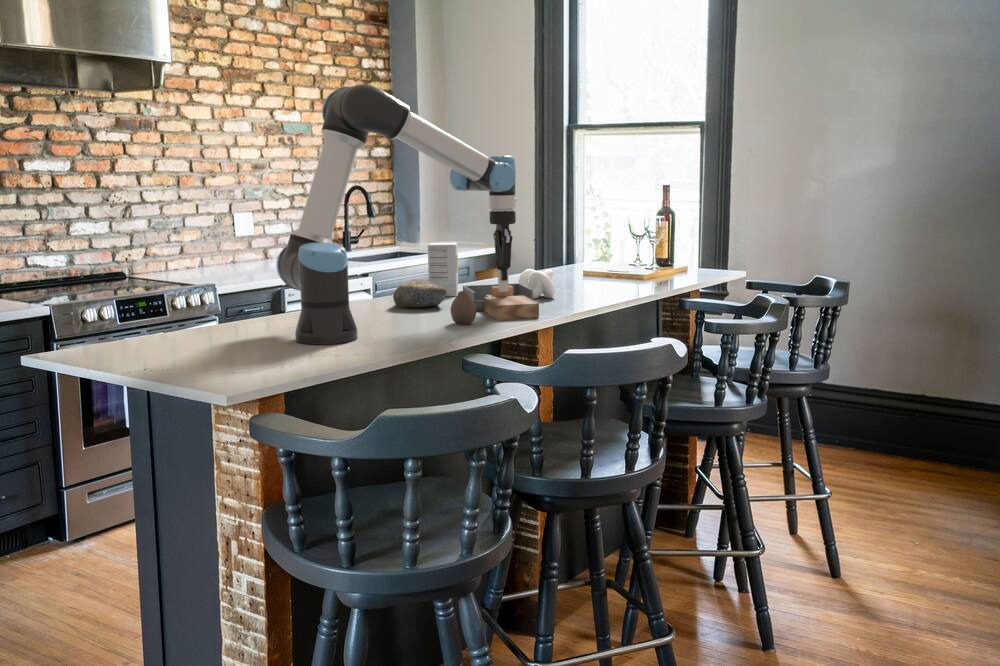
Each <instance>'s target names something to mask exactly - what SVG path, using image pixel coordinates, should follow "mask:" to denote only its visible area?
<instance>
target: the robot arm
mask: <svg viewBox="0 0 1000 666" xmlns="http://www.w3.org/2000/svg"><path fill="white" fill-rule="evenodd" d="M321 115H322V119H323V124H322V126H321V130H320V132H321V134H322V136H323V138H324V142H323V145H322V148H321V152H320V154H319V155H320V156H319V158H318V162H317V166H316V169H315V172H314V176H313V179H312V182H311V185H310V189H309V192H308V195H307V198H306V203H305V206H304V210H303V212H302V215H301V219H300V222H299V226H298V228H297V229H296V230H293V231H292V232H290V235H289V239H288V241H287V245H286V246H285V247H284V248H283V249H282V250H281V251H280V252H279V254H278V256H277V260H276V270H277V271H276V272H277V274H278V276H279V278H280V280H281V281H282V282H283V283H284V284H285V285H287V286H288V287H289V288H290V289H292V290H295V291H299V292H300V307H301V308H300V309H301V310H300V313H299V316H298V322H297V325H296V327H295V342H297V343H300V344H303V345H304V344H305V345H330V344H331V345H333V344H334V345H335V344H343V342H344V343H347V342H351V341H355V340H356V339H358V327H357V325H356V322H355V318H354V317H353V315H352V311H351V307H350V299H349V298H350V295H349V293H350V292H349V291H350V290H349V267H348V265H349V259H348V254H347V253H348V252H347V250H346V248H345V247H344V246H343V245H340V244H338V243H334V242H333V240H332V237H333V233H334V230H335V225H336V223H337V220H338V217H339V212H340V209H341V206H342V203H343V199H344V197H345V193H346V189H347V186H348V183H349V179H350V175H351V172H352V169H353V165H354V163H355V159H356V156H357V154H358V153H357V152H358V151H359V150H360V149H362V148H364V147H365V146H366V143H367V139H368V137H369V133H372V134H376V135H379V136H382V137H385V138H386V139H387V140H391V141H393V140H395V139H397V140H398V141H400V142H402V143H404V144H406V145H407V146H409V147H411V148H413V149H415V150H417V151H418V152H420V153H422V154H424V155H426V157H429V158H430V159H433V160H435V161H436V162H439V163H440V164H442V165H443V166H445V167H447V168H449V169H450V171H449V172H450V173H449V180H450V184H451V187H452V189H454V190H455V191H463V192H466V191H480V192H481V191H482V192H483V191H485V192H488V199H489V200H488V204H489V205H488V206H489V207H488V208H489V210H490V212H489V223H490V224H491V225H495V226H496V227H495V230H494V232H493V234H492V236H493V240H494V253H495V255H494V256H495V265H496V267H497V284H498V291H499V292H507V291H509V288H508V284H509V269H510V268H511V265H512V264H511V260H512V242H513V238H514V237H513V235H512V231H511V230H510V225H514V224H516V221H517V220H516V219H517V218H516V216H517V215H516V211H515V208H516V202H517V201H518V199H517V197H516V177H517V176H516V163H515V158H514V157H513V156H512V155H491V156H487V155H486V154H484V153H482V152H480V151H479V150H477V149H475V148H474V147H472V146H470V145H468V144H467V143H465V142H463V141H462V140H460V139H458V138H457V137H455V136H453V135H451V134H449V133H447V132H446V131H444V130H442V129H441V128H439V127H437V126H436V125H434V124H433V123H431V122H429V121H428V120H426V119H424V118H422V117H421V116H419V115H418V114H416V113H413V112H412V111H411V108H410V106H409V104H407V103H405V102H403V101H401V100H400V99H398V98H396V97H395V96H393V95H391V94H389V93H388V92H387V91H384V90H383V89H381V88H379V87H377V86H374V85H371V84H367V83H366V84H365V83H361V84H356V85H351V86H343V87H339V88H337V89H335V90H334V91H332V92H331V93H330V94H328V95H327V96H326V98H325V100H324V101H323V105H322V109H321Z"/></svg>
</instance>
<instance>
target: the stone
mask: <svg viewBox="0 0 1000 666" xmlns="http://www.w3.org/2000/svg"><path fill="white" fill-rule="evenodd" d="M445 295H446V290H445V289H444V288H443V287H441V286H439V285H436V284H434V283H432V282H429V280H425V279H421V278H420V279H419V278H414V279H410V280H408V281H406V282H404V283H402V284H401V285H399V286H398V287H397V288H396V289H395V290H394V293H393V301H394V304H395V306H396V307H397V308H401V309H402V308H425V307H426V308H427V307H437V306H439V305H440V304H441V303H442V302H443V300H444V299H445V298H446V296H445Z"/></svg>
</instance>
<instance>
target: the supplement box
mask: <svg viewBox="0 0 1000 666" xmlns="http://www.w3.org/2000/svg"><path fill="white" fill-rule="evenodd" d="M458 252H459V251H458V242H455V241H454V242H450V241H449V242H430V243H429V244H427V265H428V267H427V268H428V271H427V272H428V282H432V283H434V284H436V285H439V286H441V287H443V288H444V289H445V290H446V295H445V297H456V296H457V295H458V292H459V265H458V263H459V262H458V261H459V260H458V257H459V255H458Z"/></svg>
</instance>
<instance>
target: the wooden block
mask: <svg viewBox="0 0 1000 666" xmlns="http://www.w3.org/2000/svg"><path fill="white" fill-rule="evenodd" d="M484 312H485V313H487V314H488V316H491V317H492V318H494V319H495V320H496V321H502V320H503V321H504V320H520V319H519V318H524V319H532V318H531V317H539V318H540V303H539V302H537V301H535V300H534V299H533V300H531V299H529V298H527V297H526V296H524V295H523V296H502V297H484Z"/></svg>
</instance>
